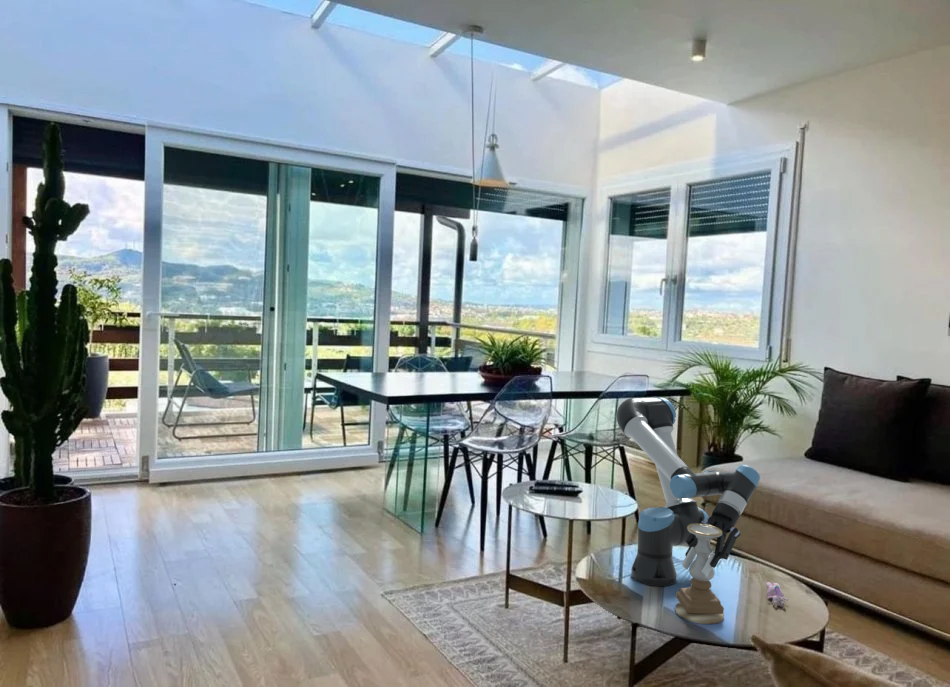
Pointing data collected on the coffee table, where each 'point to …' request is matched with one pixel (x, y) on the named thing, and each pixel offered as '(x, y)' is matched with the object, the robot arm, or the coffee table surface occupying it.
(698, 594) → the candle holder
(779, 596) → the purple toy figure
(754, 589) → the coffee table surface
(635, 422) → the robot arm
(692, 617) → the hub disc
